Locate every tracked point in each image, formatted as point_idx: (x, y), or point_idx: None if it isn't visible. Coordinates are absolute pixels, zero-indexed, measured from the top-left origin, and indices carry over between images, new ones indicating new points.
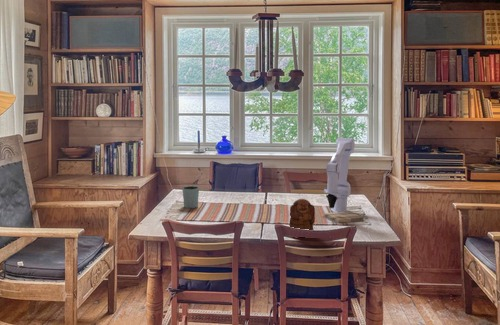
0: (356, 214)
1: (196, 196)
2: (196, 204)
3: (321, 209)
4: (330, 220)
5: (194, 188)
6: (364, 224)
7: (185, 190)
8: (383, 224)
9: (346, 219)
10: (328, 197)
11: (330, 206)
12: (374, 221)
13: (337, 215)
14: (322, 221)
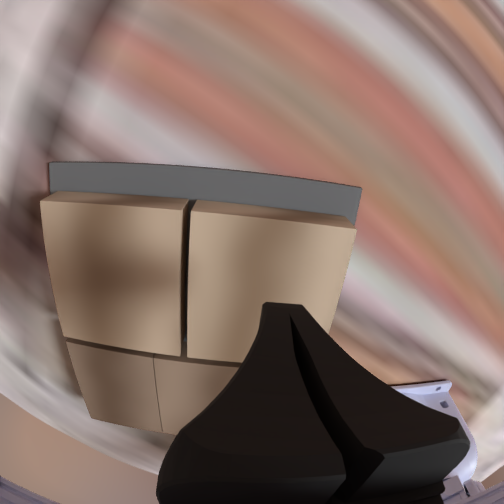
0: (172, 433)
1: None
2: None
3: (494, 336)
4: (162, 167)
5: None
6: (21, 346)
7: None
8: (27, 411)
9: (56, 288)
10: (346, 431)
11: (270, 311)
12: (81, 425)
13: (194, 301)
14: (189, 71)
